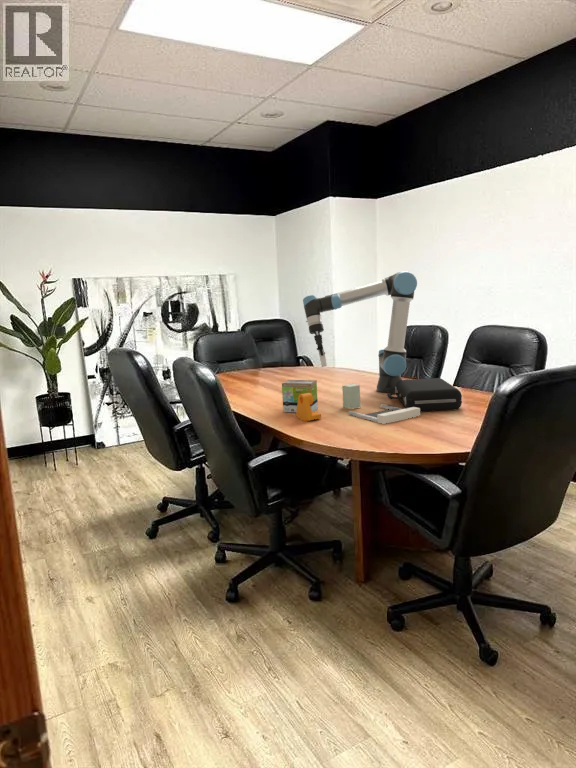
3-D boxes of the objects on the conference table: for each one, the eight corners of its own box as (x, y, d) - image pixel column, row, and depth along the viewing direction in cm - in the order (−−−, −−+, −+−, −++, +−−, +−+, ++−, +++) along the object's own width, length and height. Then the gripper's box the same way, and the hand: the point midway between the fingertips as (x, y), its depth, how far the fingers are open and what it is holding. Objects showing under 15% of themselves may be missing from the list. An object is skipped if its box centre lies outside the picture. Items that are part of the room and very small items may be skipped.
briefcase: (382, 398, 283) (382, 380, 281) (444, 395, 281) (443, 376, 280) (393, 414, 247) (393, 393, 246) (464, 411, 246) (463, 389, 244)
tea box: (282, 412, 263) (280, 382, 261) (289, 408, 273) (288, 379, 270) (312, 413, 258) (310, 382, 256) (318, 408, 267) (317, 379, 265)
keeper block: (353, 405, 270) (352, 383, 268) (360, 407, 265) (359, 385, 263) (343, 407, 267) (342, 385, 265) (350, 409, 262) (349, 386, 260)
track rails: (383, 407, 262) (383, 404, 261) (413, 414, 244) (413, 411, 243) (348, 414, 251) (347, 411, 251) (377, 422, 233) (377, 419, 233)
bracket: (322, 419, 245) (321, 393, 243) (308, 422, 241) (307, 395, 239) (310, 415, 254) (308, 390, 252) (296, 418, 251) (295, 392, 249)
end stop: (413, 414, 244) (413, 406, 243) (420, 415, 240) (420, 408, 240) (377, 422, 233) (377, 414, 233) (383, 424, 230) (383, 416, 229)
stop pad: (387, 410, 255) (387, 409, 255) (409, 415, 242) (409, 414, 242) (360, 415, 247) (360, 415, 247) (382, 421, 235) (381, 420, 235)
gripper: (309, 331, 295) (317, 369, 292) (306, 321, 271) (315, 362, 268) (323, 328, 295) (331, 366, 292) (321, 317, 270) (330, 358, 267)
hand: (324, 364), depth 280 cm, fingers open, 13 cm apart
